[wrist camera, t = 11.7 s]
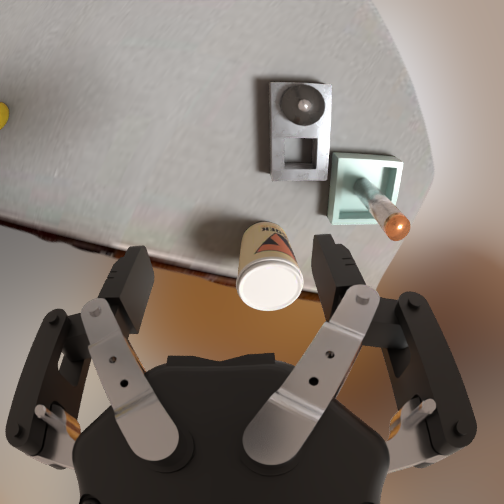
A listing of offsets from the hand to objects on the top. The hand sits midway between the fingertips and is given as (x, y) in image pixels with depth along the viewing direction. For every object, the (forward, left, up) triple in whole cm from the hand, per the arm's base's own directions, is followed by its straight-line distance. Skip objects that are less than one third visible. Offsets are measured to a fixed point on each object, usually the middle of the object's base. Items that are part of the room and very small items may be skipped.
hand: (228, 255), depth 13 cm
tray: (+9, +20, -30) cm, 36 cm away
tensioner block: (0, +9, -30) cm, 31 cm away
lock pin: (+9, +20, -29) cm, 36 cm away
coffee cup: (+19, +4, -30) cm, 35 cm away
